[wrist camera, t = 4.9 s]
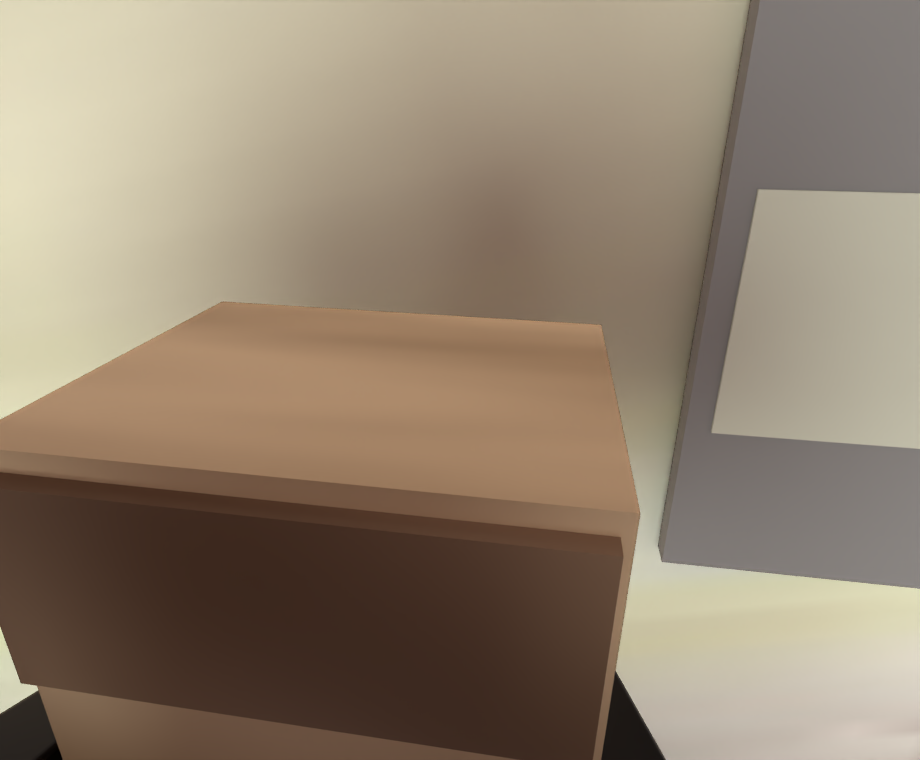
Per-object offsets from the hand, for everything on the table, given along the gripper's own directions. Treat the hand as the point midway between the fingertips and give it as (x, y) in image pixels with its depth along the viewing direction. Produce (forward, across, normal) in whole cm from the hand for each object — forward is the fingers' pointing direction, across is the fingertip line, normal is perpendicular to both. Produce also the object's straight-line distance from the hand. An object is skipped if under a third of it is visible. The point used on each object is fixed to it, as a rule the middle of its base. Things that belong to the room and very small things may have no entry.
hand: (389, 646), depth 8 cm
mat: (+11, -12, -2) cm, 16 cm away
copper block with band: (+1, 0, 0) cm, 1 cm away
